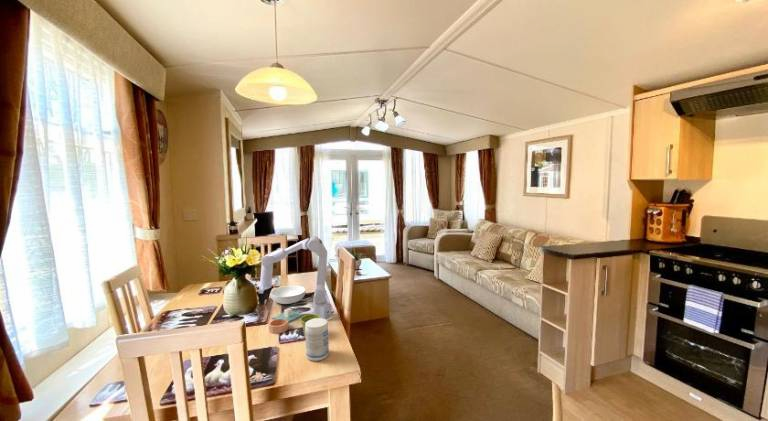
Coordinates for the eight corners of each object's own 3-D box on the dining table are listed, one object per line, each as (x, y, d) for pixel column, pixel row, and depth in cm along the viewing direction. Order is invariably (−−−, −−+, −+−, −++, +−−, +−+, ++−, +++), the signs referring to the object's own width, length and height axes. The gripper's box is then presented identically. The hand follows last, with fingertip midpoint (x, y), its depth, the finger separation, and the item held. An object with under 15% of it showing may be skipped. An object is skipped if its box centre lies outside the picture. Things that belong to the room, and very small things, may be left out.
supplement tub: (329, 360, 133) (328, 326, 132) (306, 363, 131) (304, 328, 130) (328, 348, 143) (327, 316, 141) (306, 351, 141) (305, 318, 139)
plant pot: (324, 333, 157) (324, 315, 156) (312, 341, 149) (312, 323, 148) (309, 329, 161) (308, 312, 160) (296, 337, 152) (296, 320, 152)
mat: (305, 315, 177) (305, 314, 177) (287, 324, 166) (287, 324, 166) (289, 310, 184) (288, 310, 184) (270, 319, 173) (270, 318, 173)
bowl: (291, 328, 162) (291, 320, 162) (277, 336, 154) (277, 328, 154) (279, 324, 167) (279, 317, 166) (265, 331, 159) (264, 323, 158)
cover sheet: (303, 315, 177) (302, 308, 177) (287, 322, 168) (287, 315, 167) (288, 311, 183) (288, 304, 182) (273, 318, 173) (273, 311, 173)
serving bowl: (300, 308, 188) (300, 296, 188) (265, 308, 189) (265, 296, 188) (309, 295, 209) (309, 285, 208) (277, 295, 209) (277, 285, 209)
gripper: (263, 272, 176) (260, 296, 177) (253, 280, 162) (251, 306, 163) (276, 273, 176) (273, 297, 177) (267, 281, 162) (265, 307, 163)
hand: (263, 302), depth 170 cm, fingers open, 7 cm apart
